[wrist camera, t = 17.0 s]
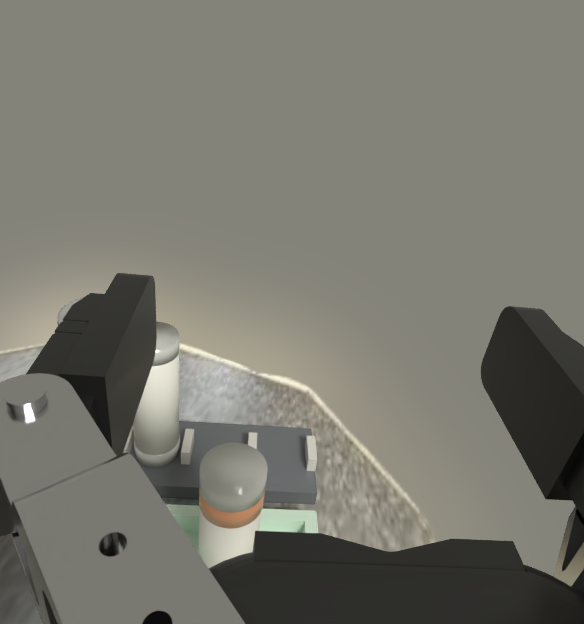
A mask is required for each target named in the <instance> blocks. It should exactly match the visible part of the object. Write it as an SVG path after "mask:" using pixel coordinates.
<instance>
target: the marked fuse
mask: <svg viewBox="0 0 584 624" xmlns="http://www.w3.org/2000/svg"><path fill="white" fill-rule="evenodd" d="M267 471H268V467H267V462H266V460H265V458H264V456H263V455H262V454H261V453H260V452H259V451H258V450H257V449H255V448H253V447H252V446H249V445H247V444H243V443H233V442H232V443H224V444H221V445H218V446H216V447H214V448H212V449H211V450H209V451H208V452H207V453H206V454H205V456H204V457H203V459H202V461H201V464H200V478H199V507H200V510H199V548H198V554H199V555H200V557H201V558H202V560H203V561H204V563H205V564H206V566H207V567H208V568H210V567H212V566H214V565H216V564H218V563H220V562H222V561H225V560H228V559H230V558H233V557H236V556H239V555H242V554H246V553H251V552H253V545H254V536H255V531H259V529H260V521H261V513H262V508H263V503H264V495H265V487H266V480H267Z"/></svg>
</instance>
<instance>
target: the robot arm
mask: <svg viewBox="0 0 584 624" xmlns="http://www.w3.org/2000/svg"><path fill="white" fill-rule="evenodd" d="M156 339H157V333H156V304H155V282H154V278H153V276H148V275H136V274H124V273H118V274H116V276H115V278H114V279H113V281H112V283H111V284H110V286H109V288H108V290H107V291H106V293H105V294H95V293H90V294H89V295H87V296H86V297H84V298H82V299H81V300H79V301H78V302H76V303H74V304H73V305H72V306H71V308H70V309H69V311H68V312H67V314H66V315H65V317H64V318H63V322H61V323H60V324H59V326H58V327H57V329H56V330H55V334H53V335H52V336H51V338H50V339H49V341H48V342H47V344H46V345H45V346H44V348H43V349H42V351H41V352H40V354H39V355H38V357H37V358H36V360H35V361H34V363H33V364H32V366H31V367H30V369H29V370H28V372H27V373H26V375H21V376H17V377H13V378H10V379H7V380H5V381H3V382H1V383H0V536H3V535H7V534H10V536H11V539H12V541H13V544H14V547H15V549H16V552H17V555H18V557H19V560H20V563H21V565H22V568H23V571H24V574H25V576H26V579H27V582H28V584H29V587H30V590H31V592H32V595H33V598H34V600H35V603H36V606H37V609H38V611H39V614H40V617H41V619H42V622H43V624H584V347H583V346H582V345H581V344H580V343H578V342H577V341H575V340H573V339H572V338H571V337H569V336H568V335H566V334H565V333H563V332H562V331H561V330H560V328H558V326H557V325H556V324H555V323H554V322H553V321H552V319H551V318H550V317H549V316H548V315H547V314H546V313H545V312H544V311H543V310H541V309H535V308H523V307H510V306H509V307H506V308H505V309H504V310H503V311H502V312H501V314H500V316H499V319H498V321H497V324H496V327H495V329H494V332H493V334H492V337H491V340H490V342H489V345H488V348H487V350H486V353H485V355H484V358H483V361H482V366H481V379H482V383H483V386H484V388H485V390H486V392H487V393H488V395H489V397H490V399H491V401H492V402H493V404H494V406H495V408H496V410H497V412H498V413H499V415H500V417H501V419H502V421H503V422H504V424H505V426H506V428H507V430H508V431H509V433H510V435H511V437H512V439H513V441H514V442H515V444H516V446H517V448H518V450H519V451H520V453H521V455H522V457H523V459H524V460H525V462H526V464H527V466H528V468H529V470H530V471H531V473H532V475H533V477H534V479H535V480H536V482H537V484H538V486H539V488H540V489H541V491H542V493H543V495H544V497H545V499H555V500H573V502H574V504H575V505H576V506H575V508H574V509H573V511H572V512H571V514H570V516H569V518H568V521H567V525H566V529H565V533H564V537H563V541H562V544H561V548H560V552H559V556H558V560H557V563H556V567H555V571H554V575H553V576H551V575H549V574H547V573H545V572H542V571H539V570H537V569H534V568H532V567H529V566H526V565H523V563H522V560H521V558H520V556H519V554H518V551H517V549H516V547H515V545H514V543H513V541H492V540H468V539H449V540H444V541H440V542H436V543H431V544H427V545H423V546H418V547H414V548H410V549H405V550H401V551H396V552H387V551H382V550H379V549H375V548H371V547H368V546H364V545H361V544H357V543H353V542H350V541H346V540H343V539H339V538H335V537H332V536H328V535H325V534H321V533H300V532H276V531H255V536H254V545H253V552H251V553H246V554H242V555H239V556H236V557H233V558H230V559H228V560H225V561H222V562H220V563H218V564H216V565H214V566H212V567H210V568H208V567H207V566H206V564H205V563H204V561H203V560H202V558H201V557H200V555H199V554H198V552H197V551H196V549H195V548H194V546H193V545H192V543H191V542H190V540H189V539H188V537H187V536H186V534H185V533H184V531H183V530H182V528H181V527H180V525H179V524H178V522H177V521H176V519H175V518H174V516H173V515H172V513H171V512H170V510H169V509H168V507H167V506H166V504H165V503H164V501H163V500H162V498H161V497H160V495H159V494H158V492H157V491H156V489H155V488H154V486H153V485H152V483H151V482H150V480H149V479H148V477H147V476H146V474H145V473H144V471H143V470H142V468H141V467H140V465H139V464H138V462H137V461H136V460H135V458H134V457H133V456H132V455H131V454H129V453H127V452H126V453H123V451H124V448H125V445H126V442H127V439H128V436H129V433H130V430H131V427H132V424H133V421H134V418H135V415H136V412H137V409H138V406H139V404H140V401H141V398H142V395H143V392H144V389H145V386H146V383H147V380H148V377H149V374H150V371H151V368H152V365H153V361H154V357H155V351H156Z"/></svg>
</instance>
